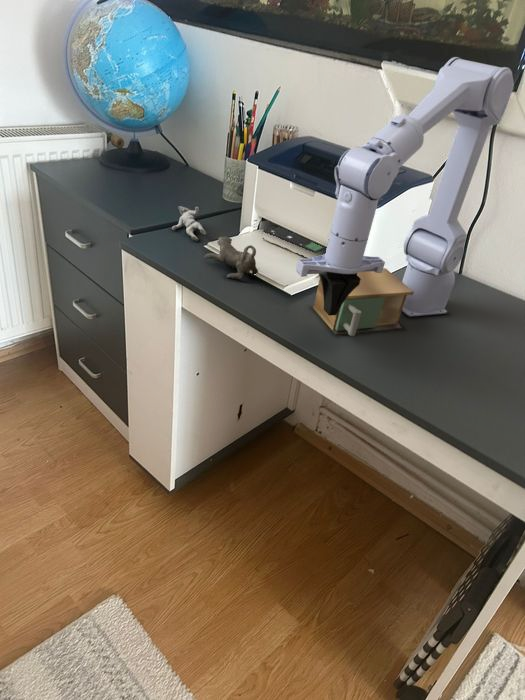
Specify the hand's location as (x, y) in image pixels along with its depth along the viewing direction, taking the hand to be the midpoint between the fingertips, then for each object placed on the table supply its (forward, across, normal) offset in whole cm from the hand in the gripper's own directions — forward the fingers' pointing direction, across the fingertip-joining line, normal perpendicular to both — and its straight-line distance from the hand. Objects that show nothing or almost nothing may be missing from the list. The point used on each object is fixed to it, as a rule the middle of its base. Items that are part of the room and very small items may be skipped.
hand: (329, 312), depth 86 cm
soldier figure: (+6, +10, -49) cm, 50 cm away
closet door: (+6, -8, -1) cm, 10 cm away
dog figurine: (+6, +7, -28) cm, 29 cm away
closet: (+6, -11, -8) cm, 15 cm away
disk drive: (+6, -14, -40) cm, 43 cm away
